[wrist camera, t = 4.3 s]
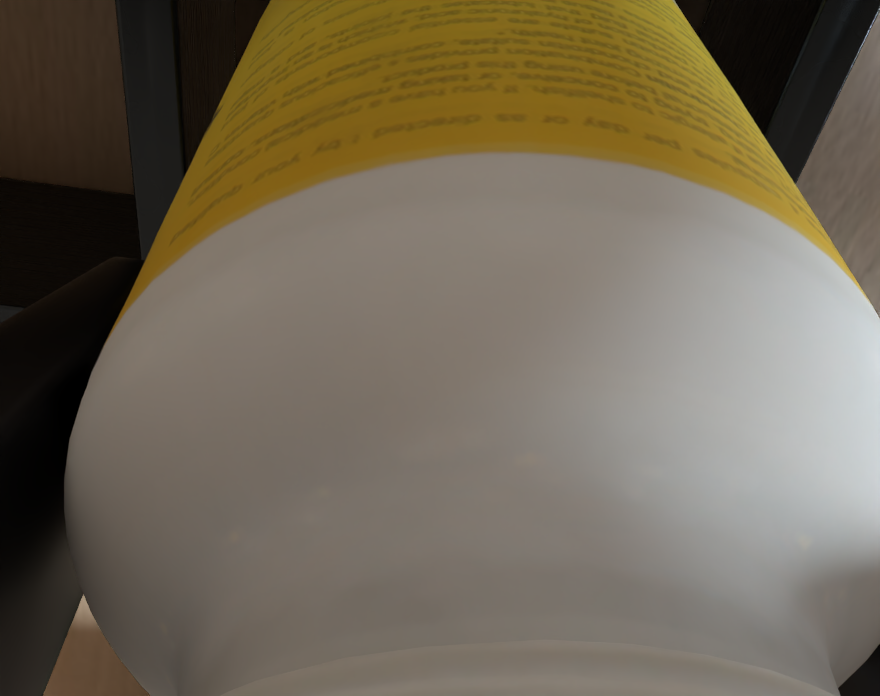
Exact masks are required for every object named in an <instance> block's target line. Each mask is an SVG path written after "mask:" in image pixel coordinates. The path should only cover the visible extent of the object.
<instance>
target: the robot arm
mask: <svg viewBox="0 0 880 696" xmlns="http://www.w3.org/2000/svg"><path fill="white" fill-rule="evenodd" d="M144 261H145V260H140V259H132V258H124V257H113V258H111V259H108V260H106V261H105V262H103V263H101V264H100V265H98V266H96V267H95V268H93V269H91V270H89V271H88V272H86V273H84V274H83V275H81V276H79V277H78V278H76V279H74V280H73V281H71V282H69V283H67V284H66V285H64V286H62V287H61V288H59V289H57V290H56V291H54V292H52V293H51V294H49V295H47V296H45V297H44V298H42V299H40V300H39V301H37V302H35V303H34V304H32V305H30V306H29V307H27V308H25V309H23V310H22V311H20V312H18V313H17V314H15V315H13V316H12V317H10V318H8V319H7V320H5V321H3V322H1V323H0V696H43V693H44V691H45V688H46V686H47V683H48V681H49V678H50V676H51V673H52V671H53V668H54V666H55V663H56V661H57V658H58V656H59V653H60V651H61V648H62V646H63V643H64V641H65V638H66V636H67V633H68V631H69V628H70V626H71V623H72V621H73V618H74V616H75V613H76V611H77V608H78V606H79V603H80V601H81V598H82V596H83V591H82V589H81V587H80V584H79V581H78V578H77V574H76V571H75V568H74V565H73V562H72V559H71V554H70V549H69V545H68V540H67V532H66V523H65V514H64V476H65V469H66V461H67V454H68V447H69V439H70V436H71V433H72V429H73V426H74V423H75V420H76V416H77V413H78V410H79V406H80V403H81V400H82V398H83V395H84V393H85V390H86V388H87V385H88V382H89V378H90V375H91V372H92V369H93V367H94V365H95V363H96V360H97V358H98V356H99V354H100V352H101V350H102V348H103V345H104V343H105V341H106V339H107V338H108V336H109V334H110V332H111V330H112V328H113V326H114V324H115V322H116V320H117V318H118V316H119V314H120V312H121V310H122V308H123V306H124V304H125V302H126V300H127V298H128V296H129V294H130V292H131V290H132V287H133V285H134V283H135V281H136V279H137V277H138V275H139V273H140V271H141V269H142V266H143V263H144ZM838 690H839V693H840V695H841V696H880V644H879V645H878V646H877V648H876V649H875V650H874V652H873V653H872V654H871V655H870V657H869V658H868V659H867V660H866V661H865V662H864V663H863V664H862V665H861V666H860V667H859V668H858V669H857V670H856V671H855V672H854V673H853V674H852V675H851V676H850V677H849V678H848V679H847V680H846V681H845V682H844V683H843V684H842V685H841V686H840V687H839V688H838Z"/></svg>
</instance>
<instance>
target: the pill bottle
mask: <svg viewBox="0 0 880 696" xmlns="http://www.w3.org/2000/svg"><path fill="white" fill-rule="evenodd" d="M64 514H65V523H66V532H67V540H68V545H69V549H70V554H71V559H72V562H73V565H74V568H75V571H76V574H77V578H78V581H79V584H80V587H81V589H82V591H83V594H84V596H85V598H86V601H87V603H88V605H89V608H90V610H91V612H92V615H93V616H94V618H95V620H96V622H97V624H98V626H99V628H100V629H101V631H102V633H103V635H104V636H105V638H106V639H107V641H108V642H109V644H110V645H111V647H112V648H113V650H114V651H115V653H116V655H117V656H118V657H119V659H120V660H121V661H122V663H123V664H124V665H125V666H126V668H127V669H128V670H129V671H130V673H131V674H132V675H133V676H134V678H135V679H136V680H137V681H138V683H139V684H140V685H141V686H142V687H143V688H144V689H145V690H146V691H147V692H148V693H149V694H150V695H151V696H841V695H840V693H839V690H838V688H839V687H840V686H841V685H842V684H843V683H844V682H845V681H846V680H847V679H848V678H849V677H850V676H851V675H852V674H853V673H854V672H855V671H856V670H857V669H858V668H859V667H860V666H861V665H862V664H863V663H864V662H865V661H866V660H867V659H868V658H869V657H870V655H871V654H872V653H873V652H874V650H875V649H876V648H877V646H878V645H879V644H880V318H879V317H878V315H877V313H876V311H875V309H874V308H873V306H872V304H871V303H870V301H869V300H868V298H867V296H866V295H865V293H864V292H863V290H862V289H861V287H860V285H859V284H858V282H857V281H856V279H855V277H854V276H853V274H852V273H851V271H850V270H849V268H848V266H847V265H846V263H845V262H844V260H843V259H842V257H841V255H840V254H839V252H838V251H837V249H836V247H835V246H834V244H833V243H832V241H831V240H830V238H829V236H828V235H827V233H826V232H825V230H824V229H823V227H822V225H821V224H820V222H819V221H818V219H817V218H816V216H815V214H814V213H813V211H812V210H811V208H810V206H809V205H808V203H807V202H806V200H805V199H804V197H803V196H802V194H801V193H800V191H799V189H798V188H797V186H796V185H795V183H794V182H793V180H792V179H791V177H790V176H789V174H788V173H787V171H786V170H785V168H784V166H783V165H782V163H781V162H780V160H779V159H778V157H777V156H776V154H775V153H774V151H773V150H772V148H771V147H770V145H769V143H768V142H767V140H766V139H765V137H764V136H763V134H762V133H761V131H760V129H759V128H758V126H757V125H756V123H755V122H754V120H753V118H752V117H751V115H750V114H749V112H748V111H747V109H746V108H745V106H744V104H743V103H742V101H741V100H740V98H739V97H738V95H737V94H736V92H735V90H734V89H733V88H732V86H731V85H730V83H729V82H728V80H727V79H726V77H725V76H724V74H723V73H722V71H721V70H720V68H719V67H718V65H717V64H716V62H715V61H714V59H713V58H712V56H711V55H710V54H709V52H708V51H707V49H706V48H705V46H704V45H703V43H702V42H701V40H700V39H699V37H698V36H697V34H696V33H695V31H694V30H693V28H692V27H691V25H690V24H689V22H688V21H687V20H686V18H685V16H684V15H683V13H682V12H681V10H680V9H679V7H678V5H677V4H676V2H675V1H674V0H270V2H269V4H268V6H267V8H266V10H265V11H264V13H263V15H262V17H261V18H260V20H259V23H258V25H257V27H256V29H255V31H254V33H253V35H252V37H251V39H250V41H249V43H248V46H247V48H246V50H245V52H244V54H243V56H242V58H241V60H240V62H239V64H238V66H237V68H236V70H235V72H234V74H233V76H232V79H231V81H230V83H229V85H228V87H227V89H226V91H225V93H224V95H223V97H222V99H221V101H220V104H219V106H218V108H217V110H216V112H215V114H214V116H213V119H212V121H211V123H210V125H209V127H208V128H207V130H206V132H205V134H204V136H203V138H202V141H201V143H200V145H199V147H198V149H197V151H196V153H195V155H194V158H193V160H192V162H191V164H190V166H189V168H188V170H187V172H186V174H185V176H184V178H183V180H182V182H181V185H180V187H179V190H178V192H177V194H176V196H175V198H174V200H173V202H172V204H171V206H170V208H169V210H168V212H167V215H166V217H165V219H164V221H163V223H162V225H161V227H160V229H159V231H158V233H157V235H156V237H155V239H154V241H153V243H152V246H151V248H150V250H149V252H148V254H147V256H146V258H145V261H144V263H143V266H142V269H141V271H140V273H139V275H138V277H137V279H136V281H135V283H134V285H133V287H132V290H131V292H130V294H129V296H128V298H127V300H126V302H125V304H124V306H123V308H122V310H121V312H120V314H119V316H118V318H117V320H116V322H115V324H114V326H113V328H112V330H111V332H110V334H109V336H108V338H107V339H106V341H105V343H104V345H103V348H102V350H101V352H100V354H99V356H98V358H97V360H96V363H95V365H94V367H93V369H92V372H91V375H90V378H89V382H88V385H87V388H86V390H85V393H84V395H83V398H82V400H81V403H80V406H79V410H78V413H77V416H76V420H75V423H74V426H73V429H72V433H71V436H70V439H69V447H68V454H67V461H66V469H65V476H64Z"/></svg>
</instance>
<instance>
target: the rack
mask: <svg viewBox="0 0 880 696" xmlns="http://www.w3.org/2000/svg"><path fill="white" fill-rule="evenodd" d="M115 5H116V16H117V26H118V36H119V46H120V56H121V66H122V76H123V86H124V96H125V106H126V117H127V127H128V137H129V147H130V157H131V167H132V177H133V187H134V195H129V194H121V193H113V192H106V191H98V190H90V189H82V188H75V187H67V186H59V185H52V184H44V183H36V182H29V181H21V180H13V179H6V178H0V323H1V322H3V321H5V320H7V319H8V318H10V317H12V316H13V315H15V314H17V313H18V312H20V311H22V310H23V309H25V308H27V307H29V306H30V305H32V304H34V303H35V302H37V301H39V300H40V299H42V298H44V297H45V296H47V295H49V294H51V293H52V292H54V291H56V290H57V289H59V288H61V287H62V286H64V285H66V284H67V283H69V282H71V281H73V280H74V279H76V278H78V277H79V276H81V275H83V274H84V273H86V272H88V271H89V270H91V269H93V268H95V267H96V266H98V265H100V264H101V263H103V262H105V261H106V260H108V259H111V258H113V257H124V258H132V259H140V260H145V258H146V256H147V254H148V252H149V250H150V248H151V246H152V243H153V241H154V239H155V237H156V235H157V233H158V231H159V229H160V227H161V225H162V223H163V221H164V219H165V217H166V215H167V212H168V210H169V208H170V206H171V204H172V202H173V200H174V198H175V196H176V194H177V192H178V190H179V187H180V185H181V182H182V180H183V178H184V176H185V174H186V172H187V170H188V168H189V166H190V164H191V162H192V160H193V158H194V155H195V153H196V151H197V149H198V147H199V145H200V143H201V141H202V138H203V136H204V134H205V132H206V130H207V128H208V127H209V125H210V123H211V121H212V119H213V116H214V114H215V112H216V110H217V108H218V106H219V104H220V101H221V99H222V97H223V95H224V93H225V91H226V89H227V87H228V85H229V83H230V81H231V79H232V76H233V74H234V72H235V0H115ZM879 11H880V0H711V2H710V5H709V8H708V10H707V13H706V16H705V19H704V22H703V25H702V27H701V30H700V33H699V36H698V37H699V39H700V40H701V42H702V43H703V45H704V46H705V48H706V49H707V51H708V52H709V54H710V55H711V56H712V58H713V59H714V61H715V62H716V64H717V65H718V67H719V68H720V70H721V71H722V73H723V74H724V76H725V77H726V79H727V80H728V82H729V83H730V85H731V86H732V88H733V89H734V90H735V92H736V94H737V95H738V97H739V98H740V100H741V101H742V103H743V104H744V106H745V108H746V109H747V111H748V112H749V114H750V115H751V117H752V118H753V120H754V122H755V123H756V125H757V126H758V128H759V129H760V131H761V133H762V134H763V136H764V137H765V139H766V140H767V142H768V143H769V145H770V147H771V148H772V150H773V151H774V153H775V154H776V156H777V157H778V159H779V160H780V162H781V163H782V165H783V166H784V168H785V170H786V171H787V173H788V174H789V176H790V177H791V179H792V180H793V182H794V183H795V184H796V182H797V180H798V178H799V176H800V174H801V172H802V170H803V168H804V166H805V164H806V162H807V160H808V158H809V155H810V153H811V151H812V149H813V147H814V145H815V143H816V141H817V139H818V137H819V135H820V133H821V131H822V129H823V127H824V125H825V122H826V120H827V118H828V116H829V114H830V112H831V110H832V108H833V106H834V104H835V102H836V100H837V98H838V96H839V94H840V91H841V89H842V87H843V85H844V83H845V81H846V79H847V77H848V75H849V73H850V71H851V69H852V67H853V65H854V63H855V60H856V58H857V56H858V54H859V52H860V50H861V48H862V46H863V44H864V42H865V40H866V38H867V36H868V34H869V32H870V29H871V27H872V25H873V23H874V21H875V19H876V17H877V15H878V13H879Z"/></svg>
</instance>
